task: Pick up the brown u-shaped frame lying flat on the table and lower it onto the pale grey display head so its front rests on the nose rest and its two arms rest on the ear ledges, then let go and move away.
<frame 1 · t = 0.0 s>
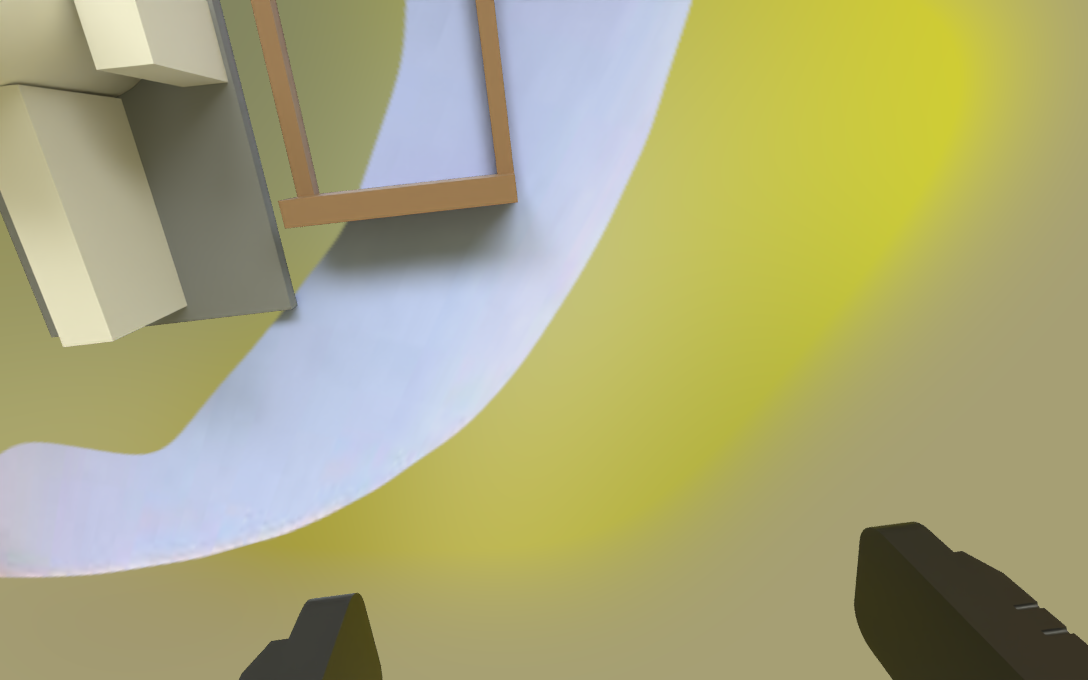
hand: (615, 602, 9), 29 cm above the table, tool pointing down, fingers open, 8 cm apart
display head: (139, 191, 34), on the table
brown u-shaped frame: (411, 196, 35), on the table
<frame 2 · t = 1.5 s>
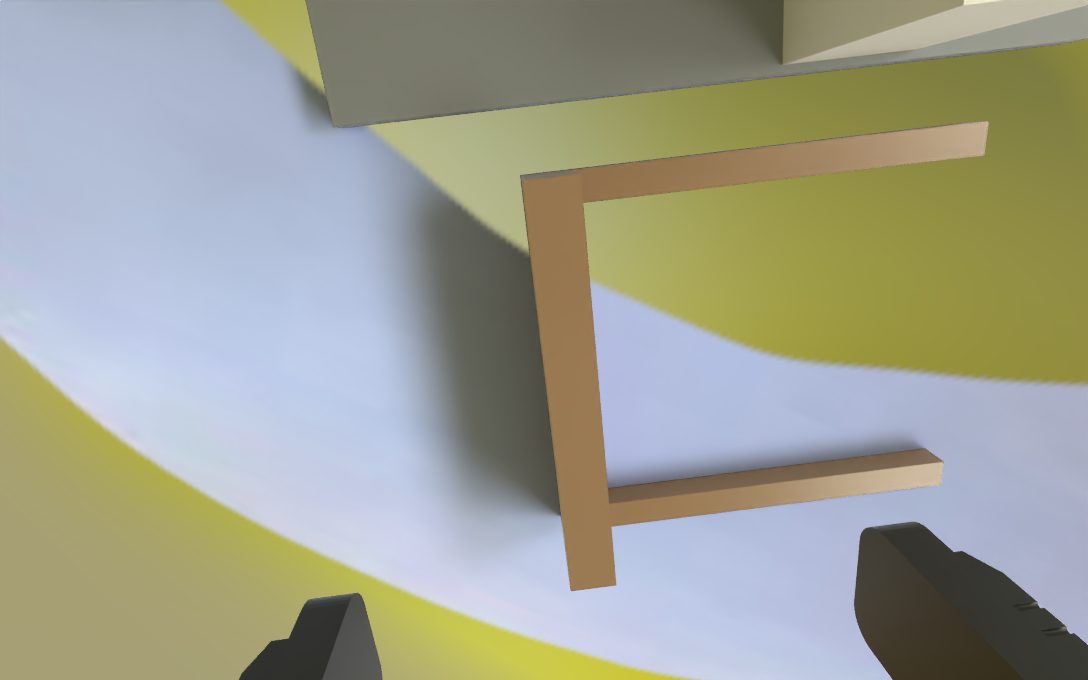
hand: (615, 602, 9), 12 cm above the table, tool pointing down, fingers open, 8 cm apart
brown u-shaped frame: (563, 360, 20), on the table
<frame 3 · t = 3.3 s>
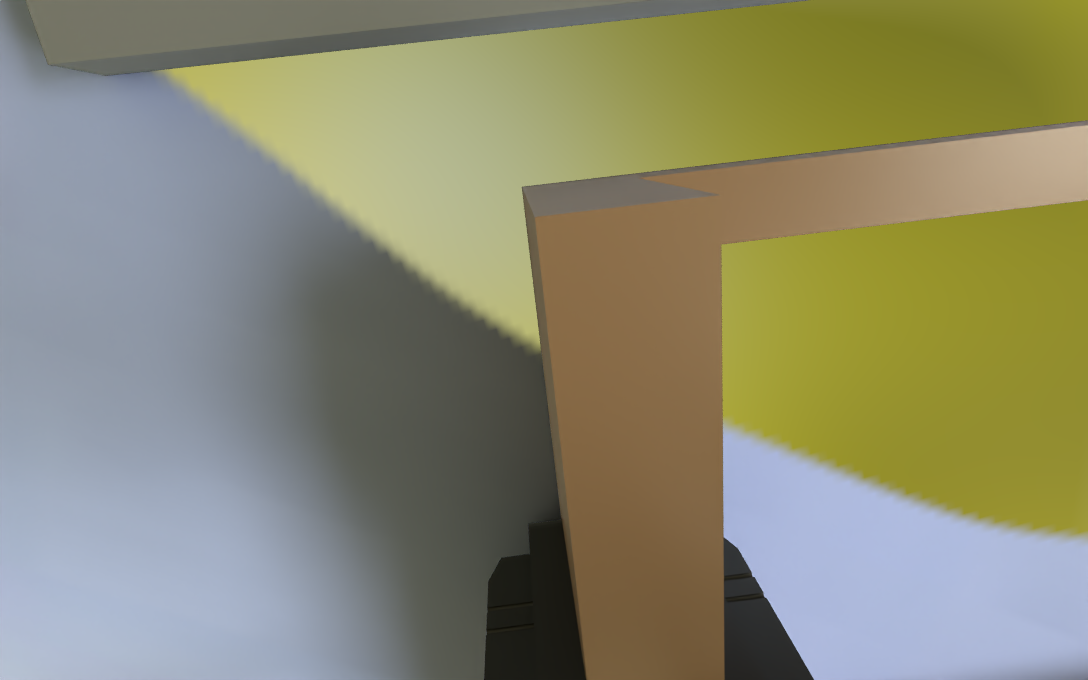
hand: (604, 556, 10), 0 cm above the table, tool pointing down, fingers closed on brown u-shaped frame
brown u-shaped frame: (605, 545, 10), on the table, touching gripper
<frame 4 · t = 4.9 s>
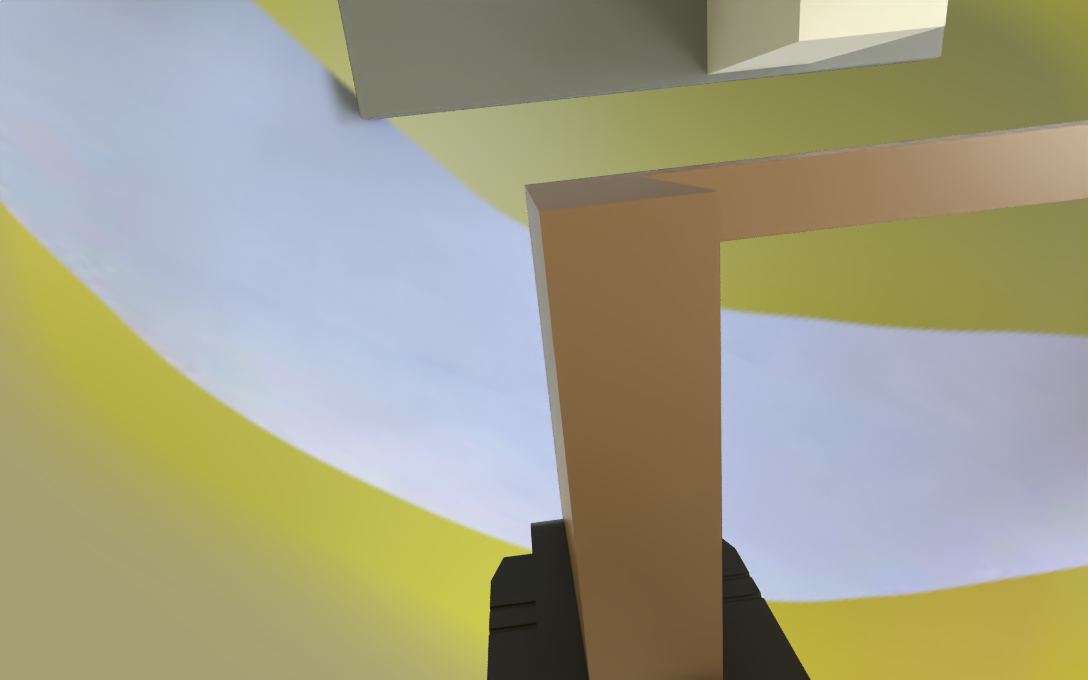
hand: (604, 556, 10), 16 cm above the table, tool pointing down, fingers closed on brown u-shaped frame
brown u-shaped frame: (605, 539, 11), point 15 cm above the table, touching gripper
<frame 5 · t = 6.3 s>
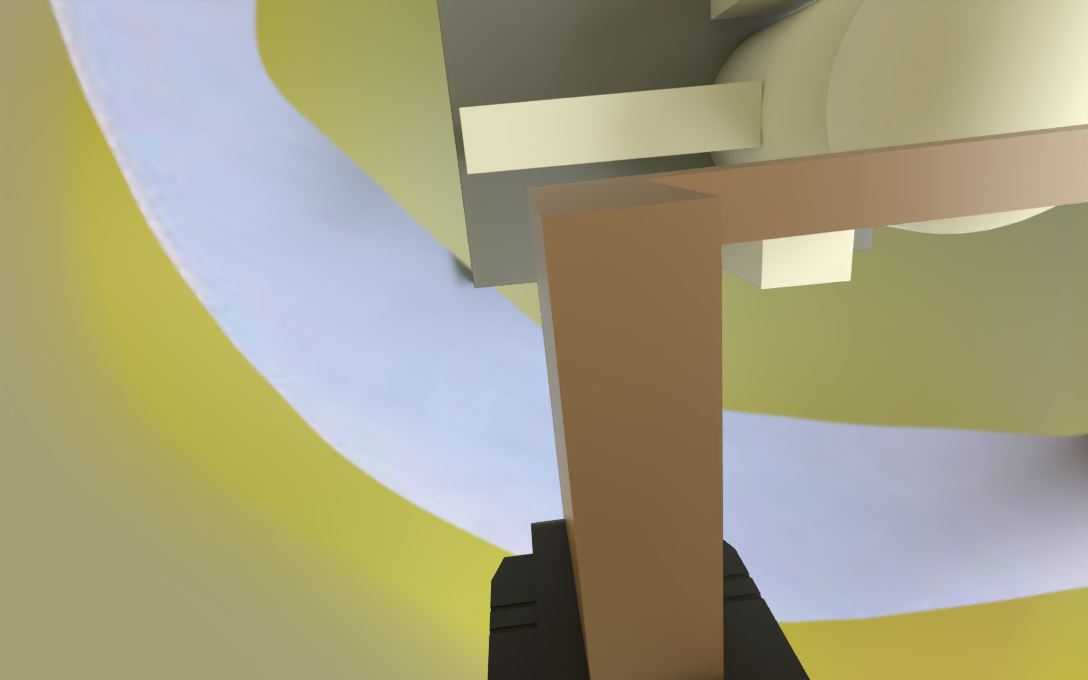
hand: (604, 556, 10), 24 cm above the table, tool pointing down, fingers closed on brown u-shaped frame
display head: (606, 132, 30), on the table
brown u-shaped frame: (606, 541, 11), point 23 cm above the table, touching gripper
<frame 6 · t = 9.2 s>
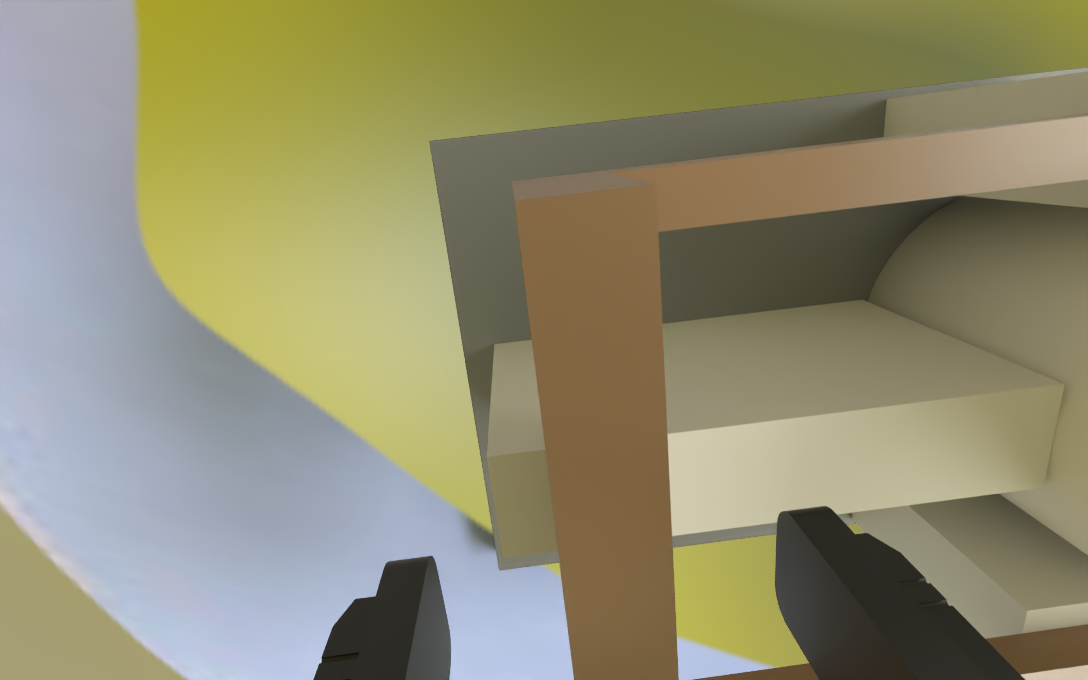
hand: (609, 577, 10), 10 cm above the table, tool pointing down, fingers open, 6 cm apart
display head: (701, 344, 19), on the table
brown u-shaped frame: (587, 497, 12), point 8 cm above the table, touching display head
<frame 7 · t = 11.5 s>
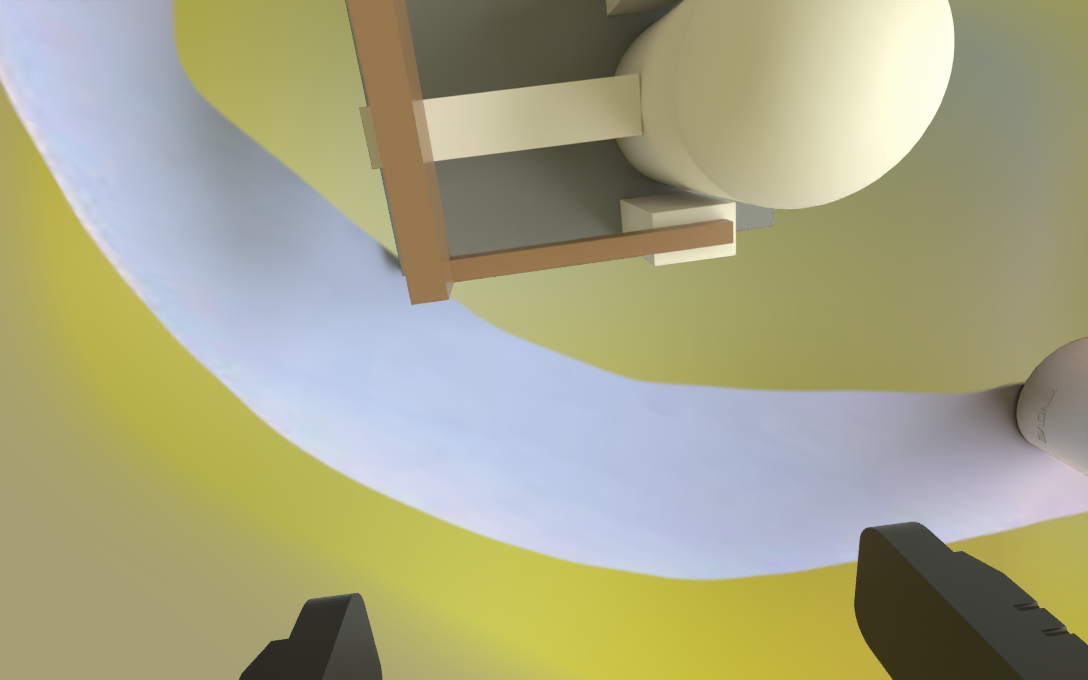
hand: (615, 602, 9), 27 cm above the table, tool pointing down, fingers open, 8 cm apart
display head: (519, 124, 32), on the table
brown u-shaped frame: (411, 133, 24), point 8 cm above the table, touching display head
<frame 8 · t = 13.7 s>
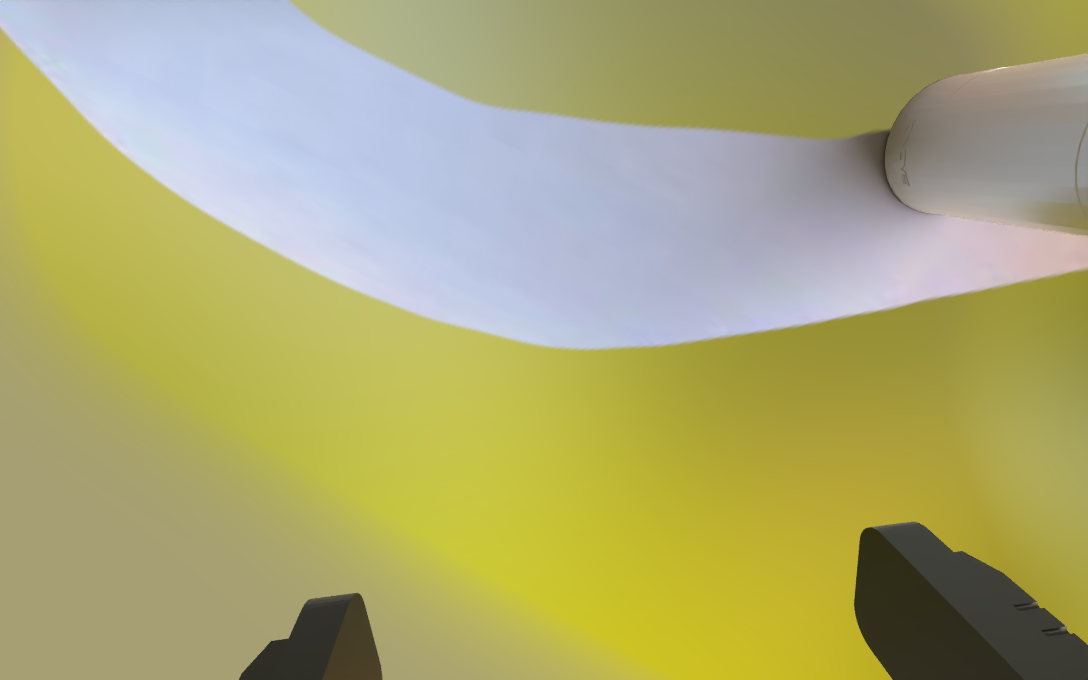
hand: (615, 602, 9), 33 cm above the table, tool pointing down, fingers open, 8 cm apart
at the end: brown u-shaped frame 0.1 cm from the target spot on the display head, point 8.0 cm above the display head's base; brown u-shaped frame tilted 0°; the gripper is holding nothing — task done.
